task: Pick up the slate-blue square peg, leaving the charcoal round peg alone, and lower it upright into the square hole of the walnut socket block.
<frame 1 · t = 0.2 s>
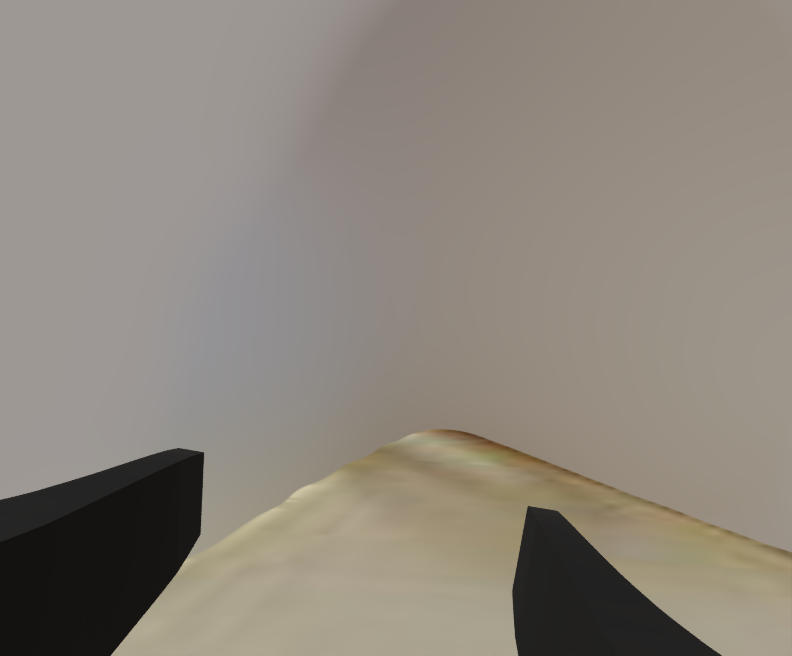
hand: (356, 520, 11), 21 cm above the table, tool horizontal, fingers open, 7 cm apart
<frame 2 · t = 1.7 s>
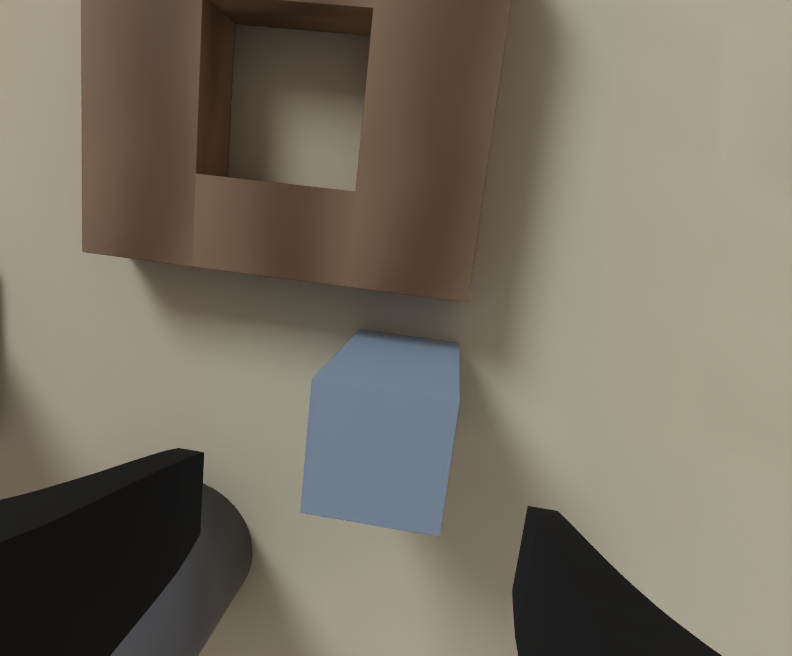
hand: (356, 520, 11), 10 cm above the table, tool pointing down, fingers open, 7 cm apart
round peg: (184, 543, 24), on the table
square peg: (403, 384, 21), on the table
socket block: (302, 111, 19), on the table
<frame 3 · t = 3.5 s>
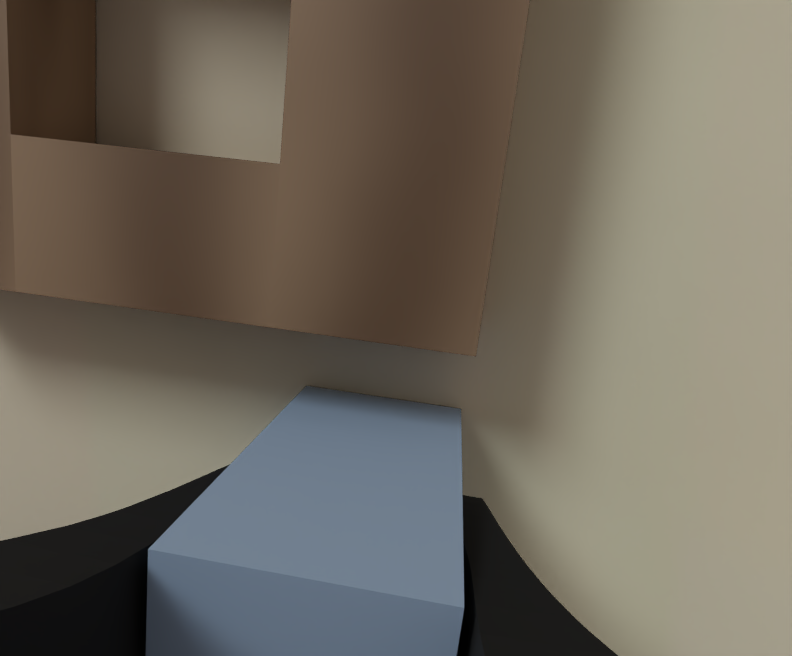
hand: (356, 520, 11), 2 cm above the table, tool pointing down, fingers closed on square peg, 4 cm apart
square peg: (374, 469, 14), on the table, touching gripper
socket block: (208, 39, 12), on the table
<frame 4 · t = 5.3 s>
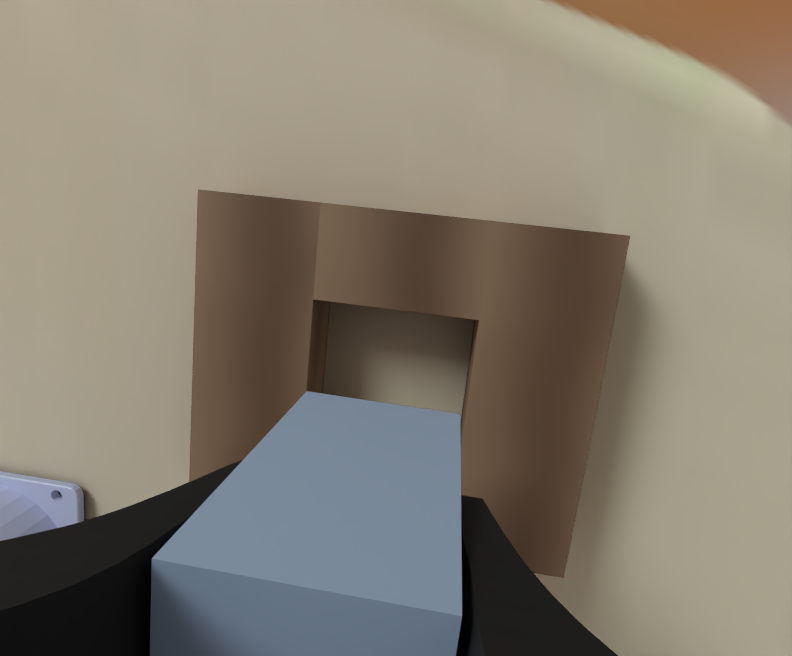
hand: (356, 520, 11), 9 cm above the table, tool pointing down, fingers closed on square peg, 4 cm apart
square peg: (374, 473, 14), point 7 cm above the table, touching gripper
socket block: (394, 370, 20), on the table
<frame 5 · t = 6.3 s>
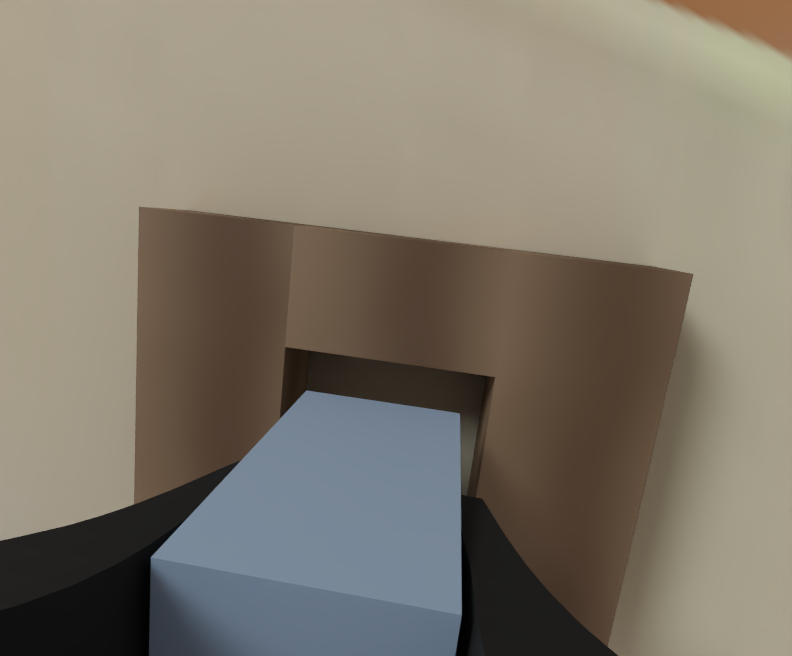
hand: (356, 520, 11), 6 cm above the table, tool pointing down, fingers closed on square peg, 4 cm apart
square peg: (374, 473, 14), point 3 cm above the table, touching gripper
socket block: (388, 426, 17), on the table
when the fingers open (4 cm above the table, at t = 7.1 s): square peg drops 1 cm, resting in socket block.
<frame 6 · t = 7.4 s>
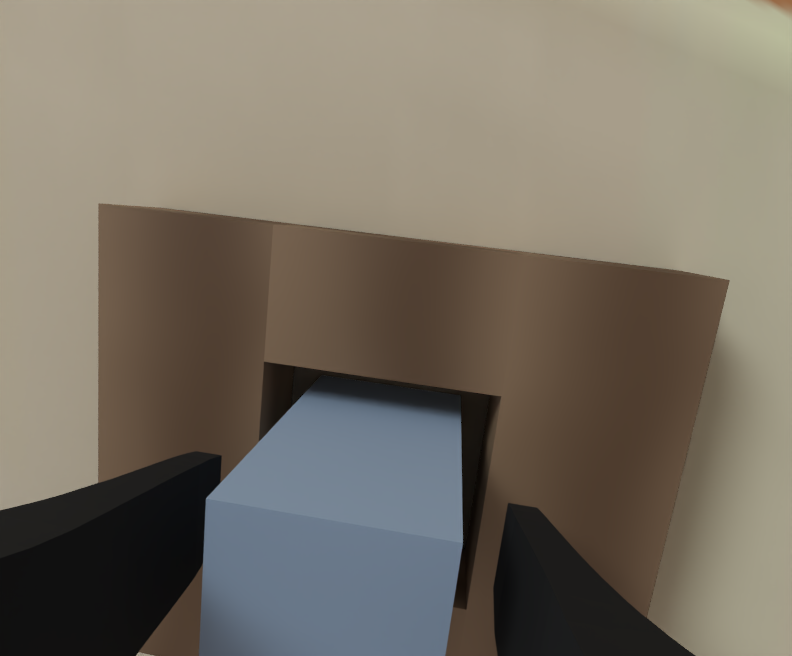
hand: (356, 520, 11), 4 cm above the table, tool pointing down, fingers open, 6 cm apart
square peg: (382, 450, 15), resting in socket block
socket block: (382, 446, 15), on the table
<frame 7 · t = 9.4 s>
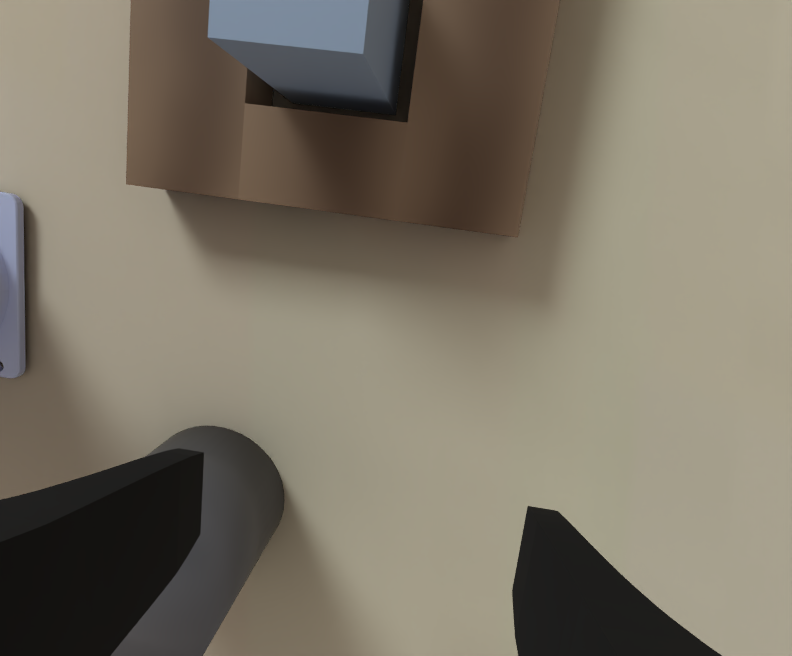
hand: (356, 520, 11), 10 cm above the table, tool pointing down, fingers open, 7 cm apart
round peg: (215, 492, 23), on the table
square peg: (349, 52, 19), resting in socket block
socket block: (349, 47, 19), on the table
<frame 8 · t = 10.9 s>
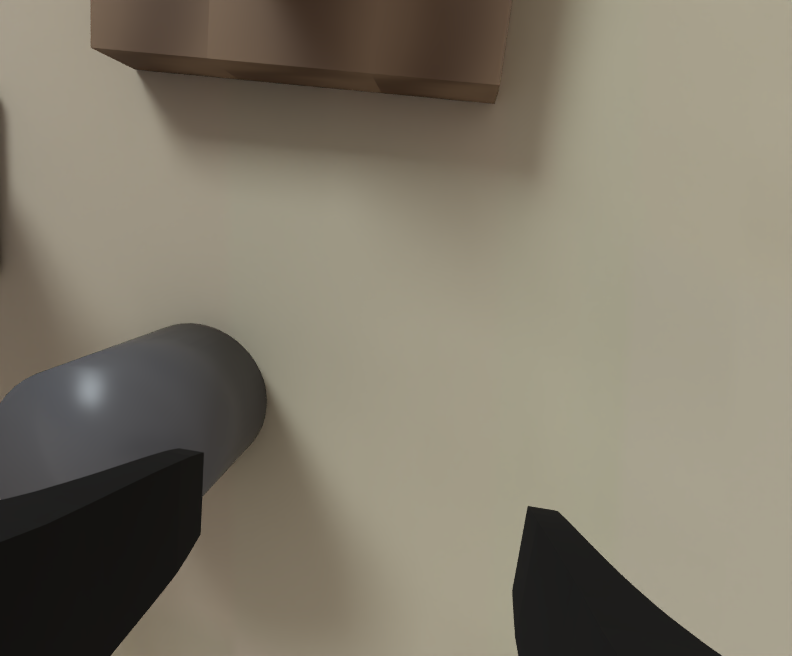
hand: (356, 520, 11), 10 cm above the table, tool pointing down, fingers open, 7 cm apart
round peg: (195, 395, 23), on the table
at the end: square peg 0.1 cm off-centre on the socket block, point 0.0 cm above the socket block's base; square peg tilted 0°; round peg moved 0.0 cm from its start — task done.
